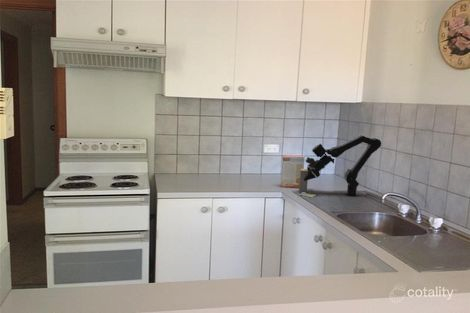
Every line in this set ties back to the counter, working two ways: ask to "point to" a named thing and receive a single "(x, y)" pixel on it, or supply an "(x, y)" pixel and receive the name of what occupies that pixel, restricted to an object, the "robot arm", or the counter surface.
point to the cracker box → (291, 170)
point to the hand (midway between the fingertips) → (303, 178)
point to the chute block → (303, 183)
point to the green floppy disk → (307, 194)
